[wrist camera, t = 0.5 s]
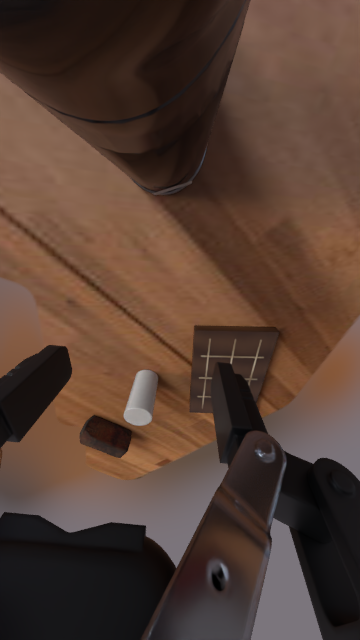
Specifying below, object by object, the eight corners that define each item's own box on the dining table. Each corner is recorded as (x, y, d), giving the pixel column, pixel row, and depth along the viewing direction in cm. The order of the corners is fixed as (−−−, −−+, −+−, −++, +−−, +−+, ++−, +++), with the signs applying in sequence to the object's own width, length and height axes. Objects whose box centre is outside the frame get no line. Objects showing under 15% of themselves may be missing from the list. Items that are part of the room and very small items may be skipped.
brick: (133, 430, 43) (128, 452, 39) (125, 437, 45) (119, 459, 41) (92, 412, 41) (81, 434, 36) (85, 421, 42) (74, 443, 38)
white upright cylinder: (134, 369, 34) (121, 407, 27) (157, 369, 34) (151, 408, 27) (136, 385, 36) (125, 425, 29) (158, 386, 36) (152, 426, 29)
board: (194, 325, 29) (194, 330, 28) (275, 327, 29) (280, 332, 28) (189, 406, 39) (189, 413, 37) (250, 407, 39) (253, 414, 37)
